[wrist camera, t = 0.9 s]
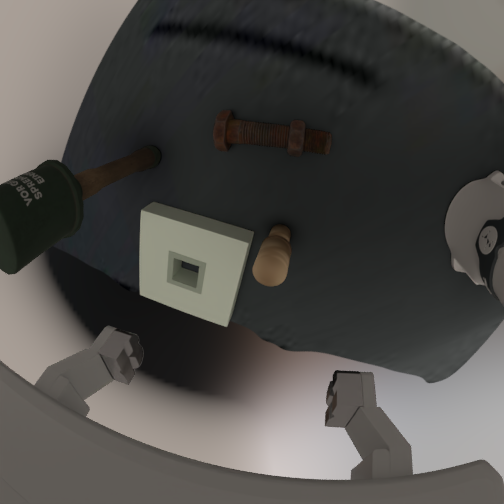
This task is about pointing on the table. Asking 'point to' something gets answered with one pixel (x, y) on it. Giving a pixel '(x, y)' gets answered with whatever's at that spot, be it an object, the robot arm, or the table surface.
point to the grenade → (54, 204)
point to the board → (192, 261)
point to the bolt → (269, 135)
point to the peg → (273, 257)
